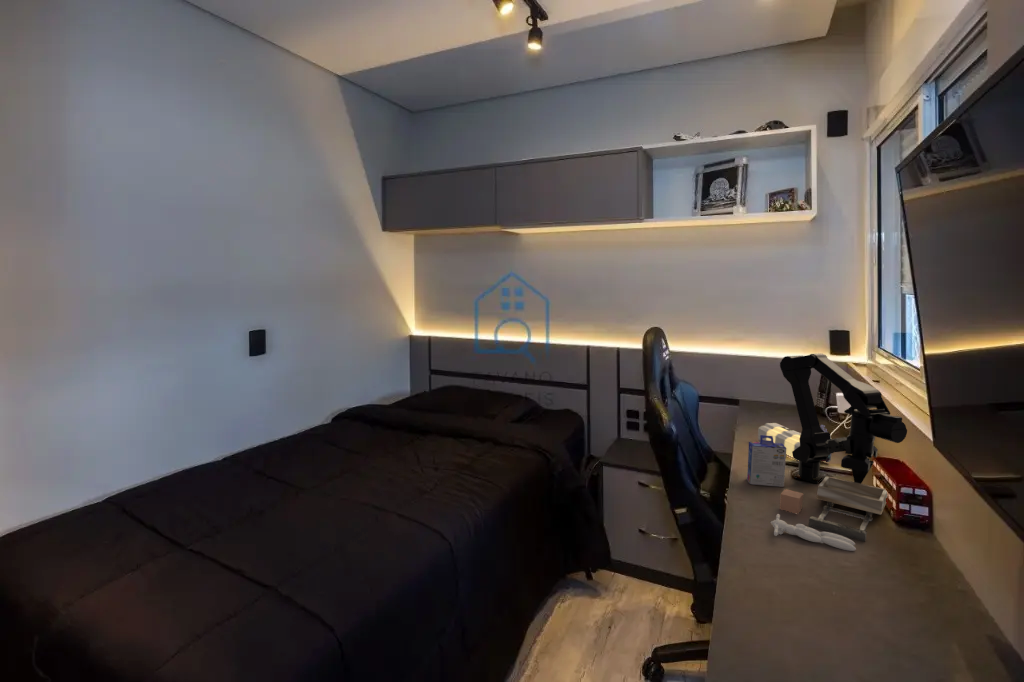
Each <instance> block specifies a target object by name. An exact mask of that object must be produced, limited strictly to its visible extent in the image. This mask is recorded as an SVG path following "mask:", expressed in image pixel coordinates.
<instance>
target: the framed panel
mask: <svg viewBox="0 0 1024 682" xmlns="http://www.w3.org/2000/svg"><path fill="white" fill-rule="evenodd" d="M834 505H835V503H832V504H831V506H830V505H827V504H826V505H824V506H823V510H822V511H821V513H820V515H818V517H816V516H813V515H812V516H810V517H809V519H808V527H811V528H814V529H819V530H823V531H825V532H830V533H834V534H838V535H841V536H844V537H846V538H849V539H850V538H851V539H854V540H858V541H861V542H866V541H867V534H868V531H866V529H867V527H868V524H869V523H870V522H872V521H873V515H874V513H872V512H871V515H870V516H869V515H864V514H859V513H855V512H851V511H847V510H844V509H840V508H836V507H834ZM830 512H835V513H837V512H838V513H839V514H841V513H843V514H842V515H845V514H846V516H849V515H850V516H849V517H853V516H854V518H858V519H860V518H861V520H863V521H862V522H861V525H860V527H859V528H856V527H853V526H852V527H851V526H848V525H846V524H842V523H838V522H835V521H830V520H826V519H825V518H826V517H827V516H828V514H829V513H830ZM838 513H837V514H838Z"/></svg>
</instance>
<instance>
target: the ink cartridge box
mask: <svg viewBox="0 0 1024 682" xmlns="http://www.w3.org/2000/svg"><path fill="white" fill-rule="evenodd" d="M763 438H769V439H771V441H768V440H762V439H763ZM747 454H748V455H747V473H746V474H747V475H746V480H747V482H748V483H749V484H750V485H757V486H769V487H778V488H779V487H781V488H783V487H785V473H786V459H787V456H786V447H785V446H784V445H783V444H782V443H774V442H773V436H765V435H760V441H748V453H747Z"/></svg>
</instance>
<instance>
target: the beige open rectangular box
mask: <svg viewBox="0 0 1024 682" xmlns="http://www.w3.org/2000/svg"><path fill="white" fill-rule="evenodd" d="M885 489H886V488H882V487H878V486H873V485H868V484H865V483H864V484H863V483H856V482H854V481H851V480H847V479H842V478H838V477H833V476H828V475H825V477H824V478H823V479H822V481H821V482H820V483H819V485H818V486H817V492H816V499H817V500H821V501H825V502H826V506H827V505H830V506H831V504H832V503H834V504H837V505H840V506H843V507H844V506H845V507H848V508H852V509H857V510H861V511H865V514H866V515H869V516H870V515H871V512H872V513H873V514H877V515H882V513H883V511H884V509H885V506H886V504H887V502H886V498H887V499H888V494H887V491H886V490H885ZM866 515H865V516H866Z"/></svg>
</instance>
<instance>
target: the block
mask: <svg viewBox="0 0 1024 682" xmlns="http://www.w3.org/2000/svg"><path fill="white" fill-rule="evenodd" d="M779 502H780V503H779V510H780V509H781V510H780V511H783V510H786V511H785V512H787V511H789V512H788V513H791V512H792V513H791V514H794V513H797V514H796V515H799V514H800V513H801V512H802V510H803V503H804V493H802V492H800V491H794V490H791V489H787V488H786V489H785V488H784V490H783V491H782V492H781V493H780V500H779ZM801 509H802V510H801ZM799 512H800V513H799ZM798 513H799V514H798Z"/></svg>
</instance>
